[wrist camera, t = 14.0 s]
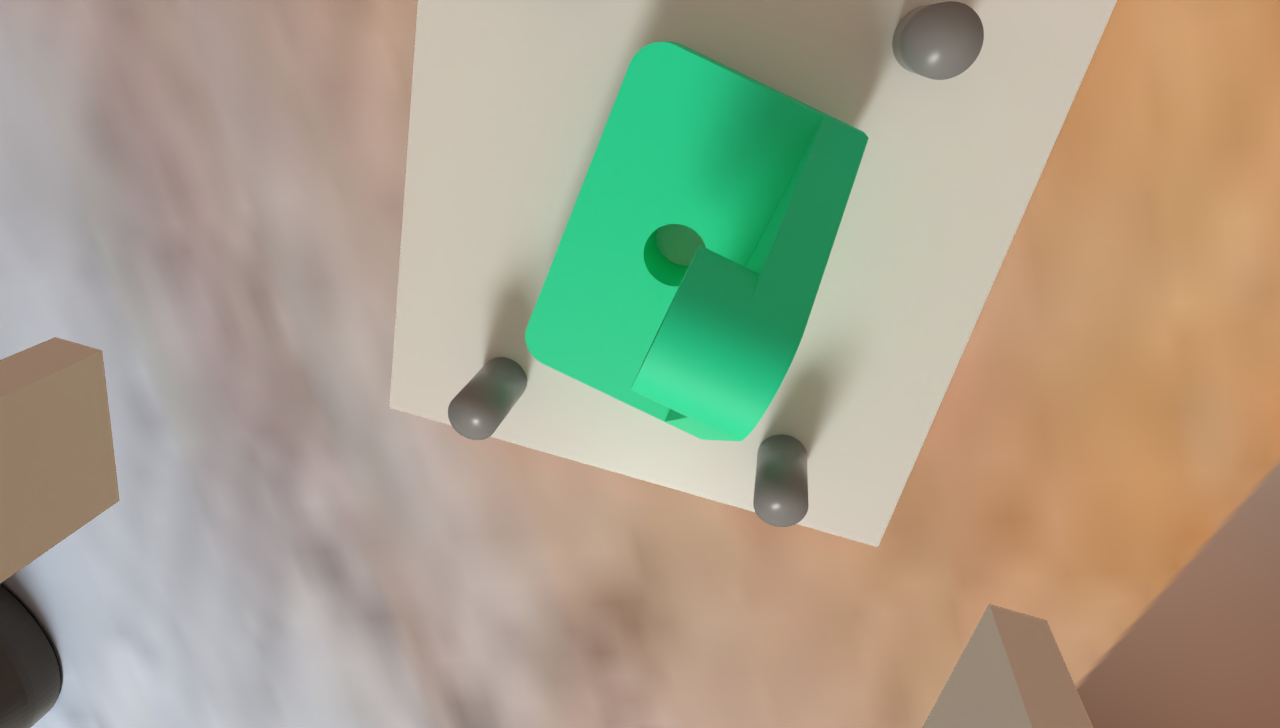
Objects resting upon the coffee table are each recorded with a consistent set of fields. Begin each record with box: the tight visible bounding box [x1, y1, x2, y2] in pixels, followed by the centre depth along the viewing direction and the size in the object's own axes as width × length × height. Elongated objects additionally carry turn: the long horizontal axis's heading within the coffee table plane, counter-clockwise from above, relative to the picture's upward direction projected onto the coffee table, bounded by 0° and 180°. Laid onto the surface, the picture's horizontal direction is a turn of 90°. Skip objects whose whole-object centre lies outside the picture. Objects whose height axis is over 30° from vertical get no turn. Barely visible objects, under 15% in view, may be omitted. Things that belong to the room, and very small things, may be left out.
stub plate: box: [389, 0, 1117, 547], centre depth 27 cm, size 22×22×5 cm
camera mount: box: [525, 41, 869, 441], centre depth 23 cm, size 12×8×10 cm, turn 157°
